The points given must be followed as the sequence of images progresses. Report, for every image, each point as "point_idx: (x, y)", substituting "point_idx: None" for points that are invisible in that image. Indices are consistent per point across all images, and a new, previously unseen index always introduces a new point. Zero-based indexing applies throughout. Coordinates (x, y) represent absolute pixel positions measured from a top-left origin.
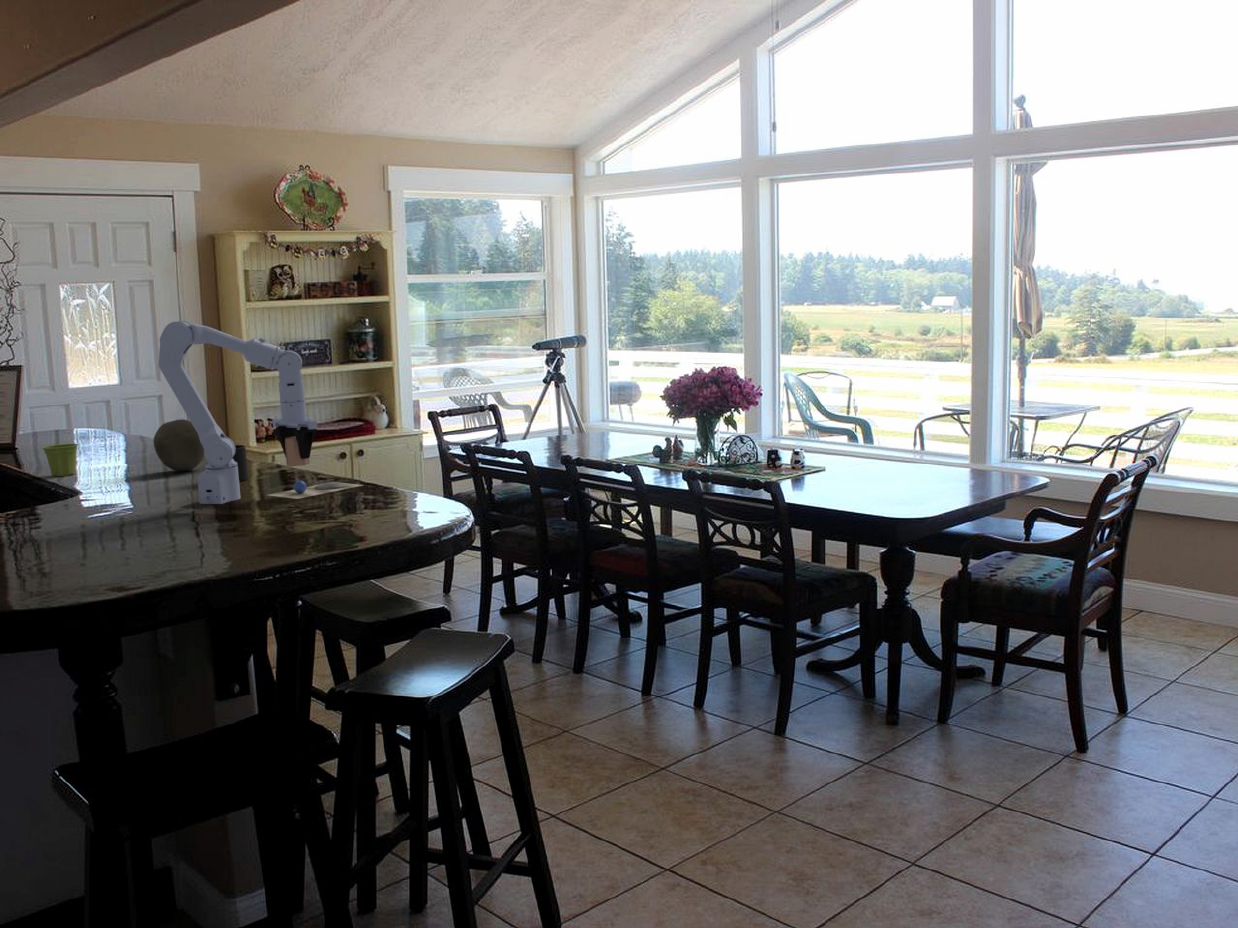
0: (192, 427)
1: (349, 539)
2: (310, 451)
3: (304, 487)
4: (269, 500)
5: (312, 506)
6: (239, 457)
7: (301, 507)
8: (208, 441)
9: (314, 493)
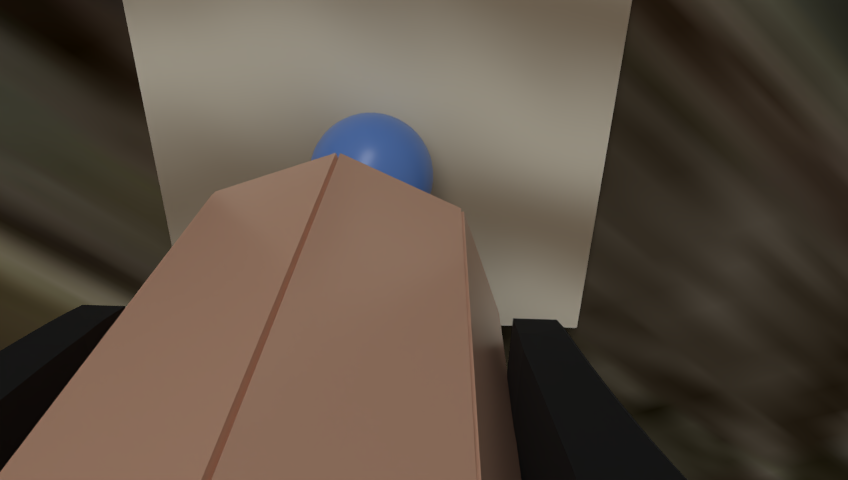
0: None
1: None
2: (605, 385)
3: (432, 171)
4: None
5: (783, 347)
6: None
7: (724, 391)
8: None
9: (528, 117)
